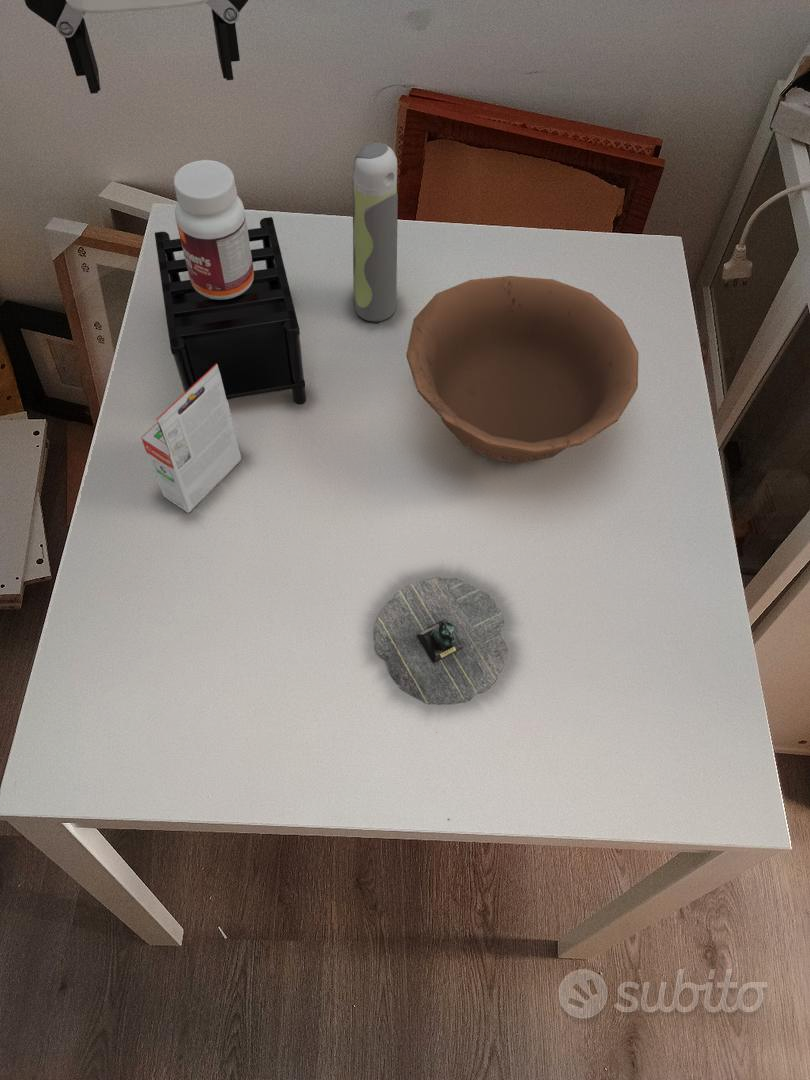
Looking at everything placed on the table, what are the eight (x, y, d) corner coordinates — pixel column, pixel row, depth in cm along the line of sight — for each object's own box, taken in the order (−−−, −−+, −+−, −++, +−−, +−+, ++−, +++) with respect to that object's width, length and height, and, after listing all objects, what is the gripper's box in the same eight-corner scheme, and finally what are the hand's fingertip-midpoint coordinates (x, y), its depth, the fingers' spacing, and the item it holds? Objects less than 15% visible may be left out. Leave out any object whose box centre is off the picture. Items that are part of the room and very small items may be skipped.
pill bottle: (178, 281, 80) (151, 179, 70) (223, 248, 83) (204, 145, 73) (222, 312, 78) (201, 212, 69) (268, 277, 81) (254, 176, 71)
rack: (193, 422, 86) (170, 349, 76) (176, 312, 93) (154, 232, 84) (307, 403, 87) (299, 329, 78) (282, 296, 95) (272, 216, 85)
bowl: (442, 323, 94) (450, 245, 84) (631, 378, 90) (662, 304, 81) (371, 472, 83) (371, 402, 74) (583, 541, 80) (611, 477, 71)
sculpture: (470, 728, 71) (419, 678, 67) (401, 708, 78) (350, 661, 73) (531, 615, 76) (486, 561, 71) (460, 605, 82) (415, 555, 78)
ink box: (162, 497, 81) (123, 402, 68) (216, 444, 84) (188, 343, 72) (190, 516, 80) (156, 422, 67) (244, 461, 83) (220, 362, 71)
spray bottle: (372, 330, 93) (372, 173, 75) (345, 306, 94) (338, 147, 77) (404, 310, 94) (412, 152, 77) (377, 286, 96) (378, 127, 79)
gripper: (-68, -189, 43) (41, 119, 58) (261, -203, 46) (285, 94, 61) (-63, -244, 47) (38, 58, 62) (241, -255, 50) (269, 38, 64)
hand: (161, 76), depth 61 cm, fingers open, 9 cm apart
